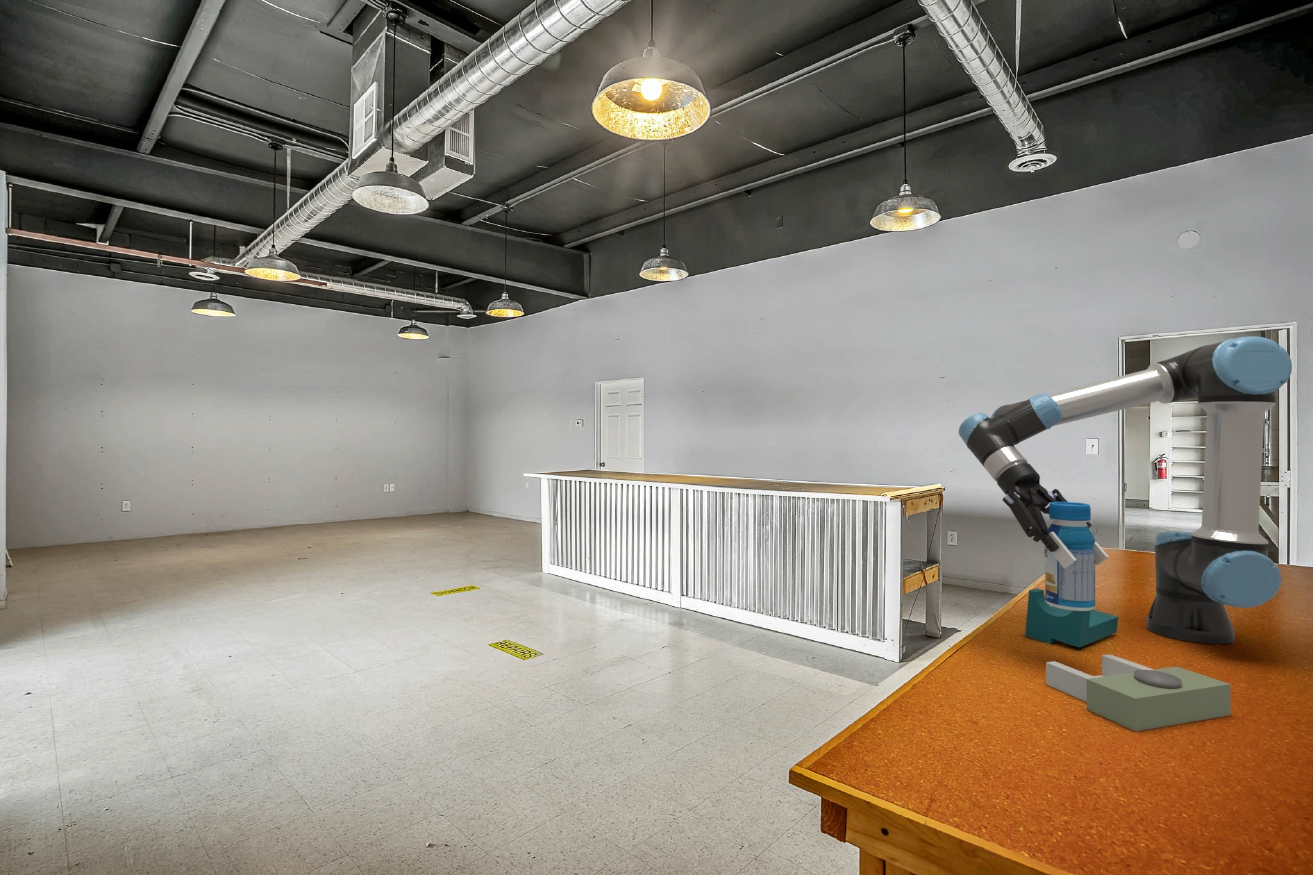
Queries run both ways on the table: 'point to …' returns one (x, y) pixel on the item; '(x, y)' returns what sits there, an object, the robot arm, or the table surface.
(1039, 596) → the teal l-shaped bracket
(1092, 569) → the blue capped bottle
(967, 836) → the table surface
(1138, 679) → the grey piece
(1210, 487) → the robot arm
